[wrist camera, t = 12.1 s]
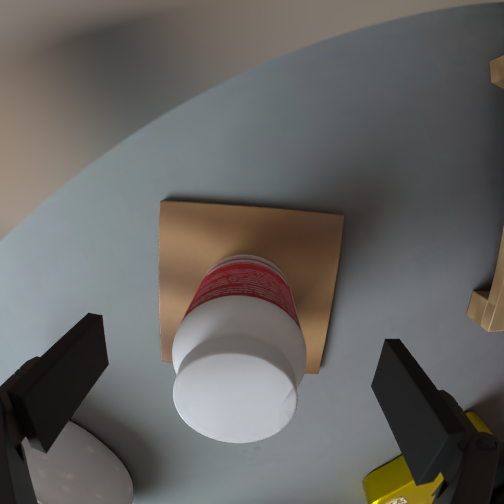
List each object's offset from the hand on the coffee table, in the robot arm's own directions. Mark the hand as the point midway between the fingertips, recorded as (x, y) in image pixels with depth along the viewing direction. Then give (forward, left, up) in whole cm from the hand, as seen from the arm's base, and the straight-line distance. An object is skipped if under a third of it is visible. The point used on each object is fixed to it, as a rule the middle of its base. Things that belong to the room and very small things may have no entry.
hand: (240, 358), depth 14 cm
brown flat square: (0, 0, -9) cm, 9 cm away
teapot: (+24, -19, -9) cm, 32 cm away
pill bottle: (0, 0, -8) cm, 8 cm away
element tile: (+22, +24, -9) cm, 34 cm away
